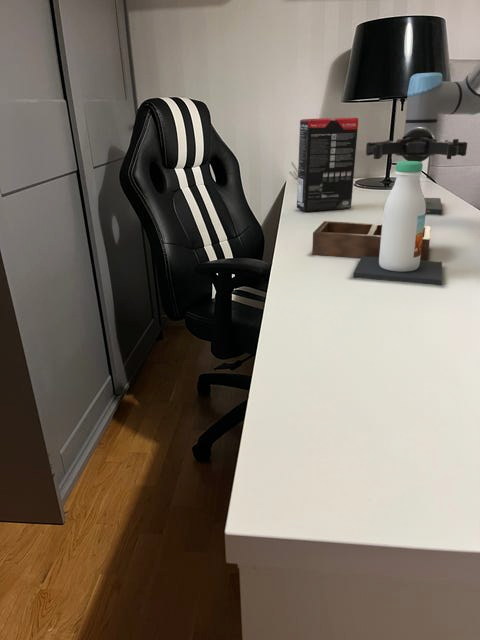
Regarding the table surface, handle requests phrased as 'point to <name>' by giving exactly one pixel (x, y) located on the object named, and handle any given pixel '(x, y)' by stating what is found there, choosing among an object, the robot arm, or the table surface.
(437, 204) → the smart home device
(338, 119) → the graphics card box
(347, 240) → the wooden compartment tray
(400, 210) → the milk bottle
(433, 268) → the mat
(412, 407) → the table surface
